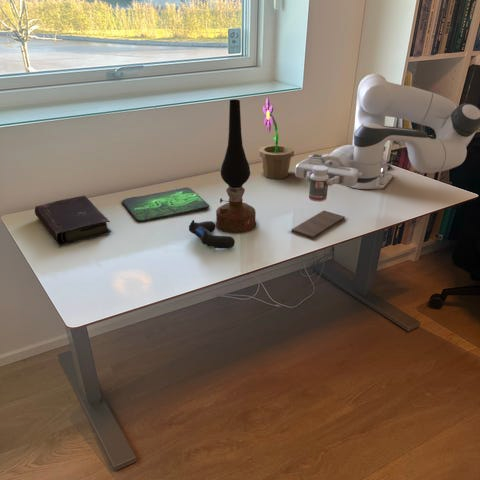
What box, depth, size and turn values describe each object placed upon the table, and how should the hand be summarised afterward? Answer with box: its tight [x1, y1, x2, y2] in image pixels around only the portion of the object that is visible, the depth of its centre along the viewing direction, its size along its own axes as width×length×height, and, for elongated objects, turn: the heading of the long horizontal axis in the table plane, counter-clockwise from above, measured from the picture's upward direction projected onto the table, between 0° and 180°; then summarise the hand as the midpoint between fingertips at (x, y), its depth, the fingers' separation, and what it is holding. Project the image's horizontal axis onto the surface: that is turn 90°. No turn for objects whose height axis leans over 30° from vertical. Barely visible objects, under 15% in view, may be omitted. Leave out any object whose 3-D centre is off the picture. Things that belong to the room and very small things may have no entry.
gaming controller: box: [188, 219, 236, 250], centre depth 158 cm, size 17×6×10 cm
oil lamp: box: [215, 99, 257, 234], centre depth 161 cm, size 14×15×40 cm
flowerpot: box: [258, 97, 295, 180], centre depth 202 cm, size 14×14×30 cm
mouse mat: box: [121, 187, 210, 223], centre depth 184 cm, size 27×22×1 cm
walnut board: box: [291, 210, 346, 240], centre depth 169 cm, size 20×8×1 cm, turn 141°
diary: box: [34, 195, 112, 247], centre depth 168 cm, size 19×25×5 cm
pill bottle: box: [308, 165, 329, 203], centre depth 157 cm, size 6×6×10 cm
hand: (317, 181), depth 156 cm, fingers closed on pill bottle, 6 cm apart
